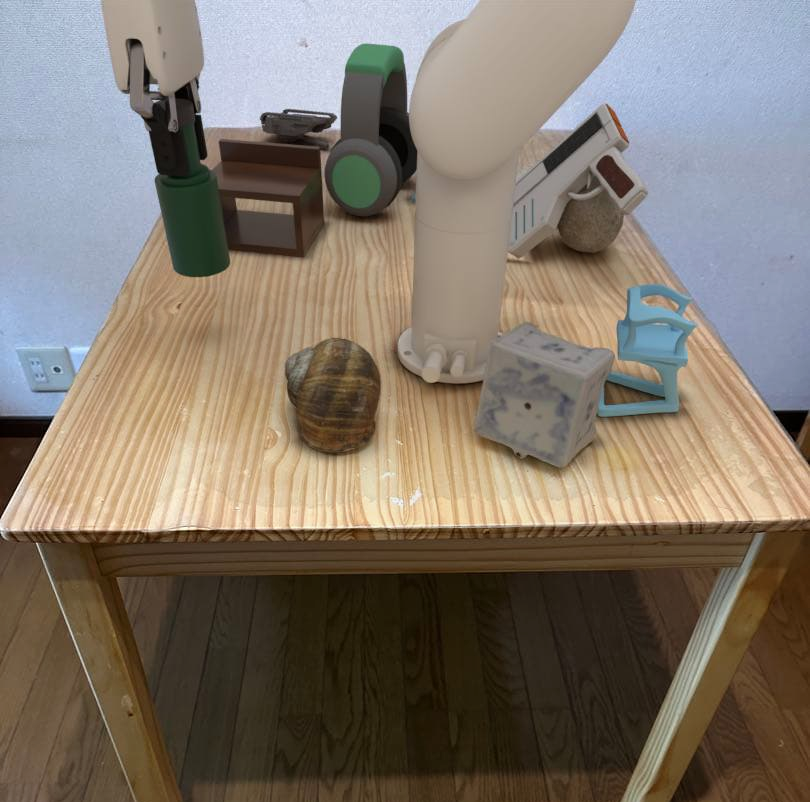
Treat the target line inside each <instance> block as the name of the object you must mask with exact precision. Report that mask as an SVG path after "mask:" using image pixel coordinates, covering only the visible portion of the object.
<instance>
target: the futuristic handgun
mask: <svg viewBox="0 0 810 802" xmlns="http://www.w3.org/2000/svg"><path fill="white" fill-rule="evenodd" d="M629 147H630V140H629V139H628V136H627V134H626V132H625V130H624V128H623V126H622V124H621V122H620V120H619V117H618V115H617V114H616V111H615V110H614V109H613V108H612V107H611V106H610V105H609V104H608V103H605V102H602V104H600V105H599V106H598V107H597V108H596V109H595V110H593V111H592V113H590V114H589V115H588V116H587V117H586V118H585V119H584V120H582V121H581V122H580V123H579V124H578V125H577V126H576V127H574V129H572V130H571V131H570V132H569V133H568V134H567V135H566V136H565V137H563V139H562V140H560V141H559V142H558V143H557V144H556V145H555V146H554V147H553V148H552V149H550V150H549V151H548V152H547V153H546V154H545V155H544V156H543V157H541V158H540V159H539V160H538V161H537V162H535V163H536V164H535V163H534V164H535V165H534V166H533V167H532V168H531V169H529V170H528V171H527V172H526V173H525V174H524V175H523V176H522V177H521V178H519V179H518V180H517V181H516V185H515V195H514V204H513V212H512V219H511V227H510V236H509V245H508V254H510V255H512V256H514V257H515V258H517V259H521V258H523V257H524V256H525V255H527V254H528V253H529V252H530V251H532V250H533V249H534V248H535V247H536V246H538V245H539V244H540V243H541V242H542V241H543V240H545V239H546V238H547V237H548V236H550V235H552V233H553V232H555V231H556V229H557V228H558V226H557V225H558V223H559V220H560V218H561V216H562V213H563V211H564V209H565V206H566V204H567V203H568V202H569V201H570V200H571V199H575V200H579V201H580V200H588V199H590V198H592V197H594V196H596V195H597V194H599V193H600V192H601V191H602V190H603V189H606V190H607V192H608V194H609V196H610V198H611V199H612V200H613V201H614V202H615V203H616V204H617V206H618V208H619V210H620V211H621V212H622V213H623V214H624V216H629V215H630V214H631V213H632V212H633V211H635V209H636V208H638V206H640V204H642V202H643V201H644V200H645V199H646V198H647V196H648V195H649V190H648V189H649V188H648V187H647V185H646V183H645V182H644V180H643V179H642V178H641V177H640V176H639V175H638V174H637V173H636V172H635V171H634V170H633V168H632V167H631V165H629V163H628V162H627V160H626V159H625V156H624V155H623V153H624V152H625V151H626V150H627V149H628V148H629ZM594 176H596V177H597V178H598V180H599V182H600V184H601V185H600V186H599V187H597V188H596V189H594V190H593V191H591V192H590V193H587V194H577V193H578V192H579V191H580V190H581V189H582V188H583V187H584V186H585V185H586V184H587V183H588V186H587V189H588V188H589V187H590V184H591V181H592V178H593V177H594Z"/></svg>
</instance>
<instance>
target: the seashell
mask: <svg viewBox="0 0 810 802" xmlns="http://www.w3.org/2000/svg"><path fill="white" fill-rule="evenodd" d="M284 376H285V379H286V381H287V382H286V393H287V397H288V399H289V401H290V403H291V405H292V406H293V407H294V408H295V414H296V418H297V420H296V421H297V430H298V432H299V435H300V437H301V438H302V440H303V441H304V442H305V443H306V445H308V446H309V447H311V448H313V449H314V450H316V451H320V452H325V453H343V452H347V451H351V450H355V449H359V448H361V447H363V446H364V445H366V444H367V443H368V442H370V441H371V439H372V438H373V436H374V434H375V431H376V427H377V425H376V420H375V418H376V414H377V411H378V407H379V403H380V399H381V398H380V397H381V390H382V389H381V388H382V381H381V380H382V379H381V373H380V370H379V367H378V365H377V363H376V361H375V360H374V358H373V357H372V355H371V353H370V352H369V351H368V350H367V349H365V348H364V347H363V346H361V345H359V344H358V343H356V342H354V341H352V340H350V339H348V338H342V337H334V336H333V337H330V338H326V339H324V340H322V341H320V342H318V343H316V344H315V345H314V346H310V347H306V348H303V349H301V350H300V351H298V352H296V353H293V354H291V355H290V356H289V357H287V359H286V362H285V363H284Z"/></svg>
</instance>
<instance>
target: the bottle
mask: <svg viewBox="0 0 810 802" xmlns="http://www.w3.org/2000/svg"><path fill="white" fill-rule="evenodd" d="M154 103H155V104H160V105H161V107H162V108H163V109H164V111H165V103H164V100H156V101H155V102H154ZM175 103H176V111H177V120H178V129H181V130H183V132H184V138H185V143H186V148H187V154H188V159H189V165H190V170H191V172H190V174H189V175H188V176H171V175H160V174H159V173H158V174H157V175H156V176H155V177H154V180H153V181H154V187H155V190H156V195H157V200H158V205H159V208H160V213H161V218H162V222H163V227H164V231H165V236H166V237H165V238H166V241H167V246H168V250H169V255H170V260H171V263H172V268H173V271H174V272H175V273H176V274H178V275H180V276H183V277H187V278H206V277H211V276H215V275H218V274H220V273H222V272H224V271H226V270H227V269H228V268H229V267H230V265H231V258H230V257H231V256H230V250H228V245H227V238H226V232H225V226H224V220H223V214H222V208H221V201H220V195H219V189H218V183H217V177H216V174H215V172H214V171H212V169H210V168H209V166H208V165H206V164H203V163H202V162H201V160H200V156H199V151H198V145H197V139H196V133H195V127H194V122H195V115H194V109H193V104H192V102H191V101H189V100H185V99H175ZM165 112H166V111H165Z"/></svg>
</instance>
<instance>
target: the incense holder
mask: <svg viewBox="0 0 810 802" xmlns="http://www.w3.org/2000/svg"><path fill="white" fill-rule="evenodd" d="M615 359H616V354H615V352H614V350H611V349H610V348H606V347H587V346H585V345H580V344H577V343H574V342H571V341H569V340H567V339H564V338H562V337H559V336H557V335H554V334H549V333H548V332H545V331H542V330H539V325H536V324H534V323H533V322H529V321H524V322H523V323H520V324H518V325H515V327H513V328H512V329H510V330H508V331H507V332H505V333H504V334H503V335H502V336H500V337H499V338H497V339H496V340H493V341H491V344H490V348H489V351H488V356H487V362H486V367H485V372H484V379H483V380H482V386H481V389H480V394H479V402H478V408H477V412H476V416H475V419H474V425H473V426H474V429H473V431H474V433H476V435H477V436H479V437H482V438H485V439H486V440H490V441H492V442H495V443H499V444H502V445H504V446H506V447H509V448H510V449H511V450H512V452H513V453H514V455H515V456H516V457H517V458H518V459H520V460H523V459H525V458H526V457H527V456H528V455H529V456H531V457H534V458H536V459H537V460H540V461H542V462H545V463H548V464H549V465H551V466H554V467H556V468H565V467H567V466H568V465H569V463H570V462H571V461H572V460H573V459H574V458H575V457H576V456H577V455H578V453H580V452H581V450H582V449H583V448H585V447H586V446H588V445H589V444H590V443H592V442H594V441H595V436H596V432H597V426H596V425H595V424H596V422H597V411H598V405H599V401H600V398H601V393H602V388H603V386H604V387H605V383H606V381H607V380H606V379H607V377H608V376H609V374H610V372H611V371H612V370H613V365H614V362H615Z"/></svg>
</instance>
